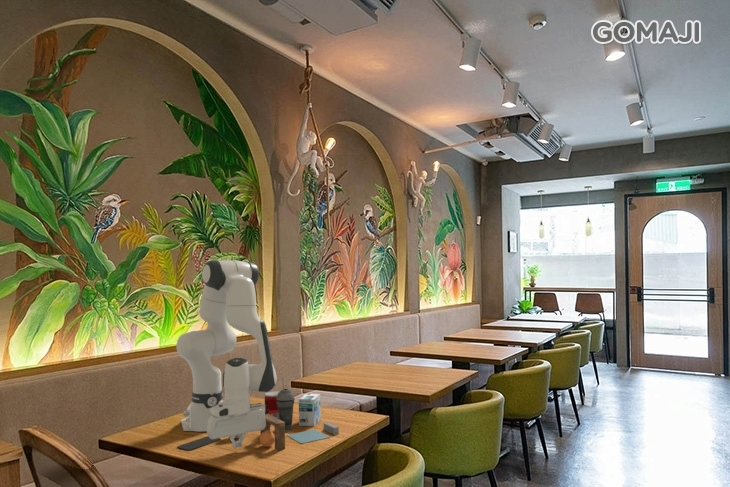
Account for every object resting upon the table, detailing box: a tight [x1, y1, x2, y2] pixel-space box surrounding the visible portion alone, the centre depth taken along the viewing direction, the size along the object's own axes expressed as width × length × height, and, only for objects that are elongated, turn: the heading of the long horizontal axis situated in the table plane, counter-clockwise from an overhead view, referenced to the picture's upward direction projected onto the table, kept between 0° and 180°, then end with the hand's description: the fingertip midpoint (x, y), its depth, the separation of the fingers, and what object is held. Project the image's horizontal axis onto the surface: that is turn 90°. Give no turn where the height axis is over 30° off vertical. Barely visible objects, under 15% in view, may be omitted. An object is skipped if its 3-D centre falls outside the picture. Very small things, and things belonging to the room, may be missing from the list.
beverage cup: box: [276, 377, 295, 432], centre depth 209 cm, size 7×7×20 cm
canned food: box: [264, 390, 281, 419], centre depth 223 cm, size 8×8×11 cm
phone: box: [176, 435, 222, 452], centre depth 193 cm, size 7×1×15 cm
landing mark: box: [286, 428, 331, 445], centre depth 199 cm, size 12×12×1 cm
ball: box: [259, 430, 275, 447], centre depth 189 cm, size 5×5×5 cm
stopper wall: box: [323, 422, 340, 436], centre depth 205 cm, size 8×2×2 cm, turn 34°
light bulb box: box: [298, 393, 322, 427], centre depth 218 cm, size 11×7×11 cm, turn 170°
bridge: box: [259, 414, 286, 451], centre depth 191 cm, size 3×14×9 cm, turn 34°
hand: (237, 447), depth 183 cm, fingers closed
